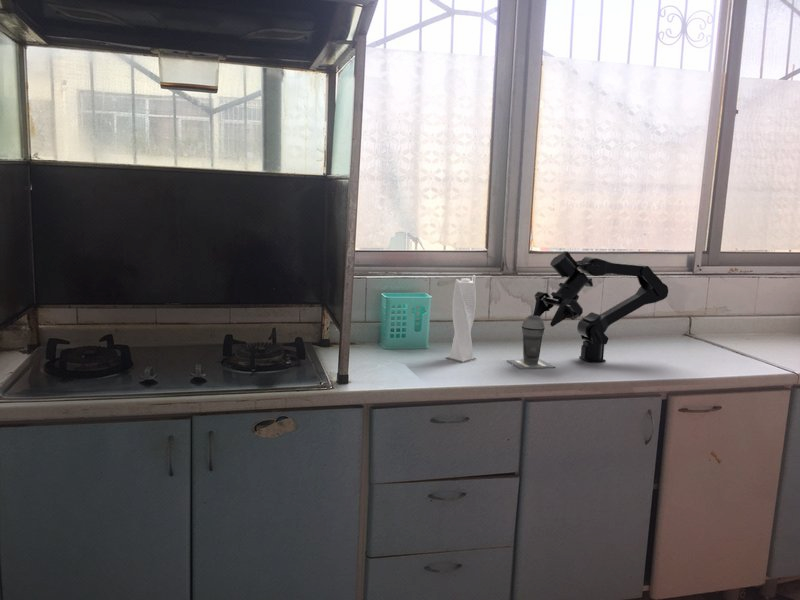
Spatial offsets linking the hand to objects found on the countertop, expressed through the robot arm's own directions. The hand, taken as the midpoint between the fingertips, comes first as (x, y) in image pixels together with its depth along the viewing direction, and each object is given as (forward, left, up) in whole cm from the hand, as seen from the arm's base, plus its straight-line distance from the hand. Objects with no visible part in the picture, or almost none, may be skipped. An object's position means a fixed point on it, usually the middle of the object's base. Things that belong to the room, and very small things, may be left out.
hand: (542, 323), depth 220 cm
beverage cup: (+4, +1, -13) cm, 14 cm away
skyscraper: (+24, -8, -13) cm, 28 cm away
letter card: (+4, +1, -13) cm, 14 cm away
